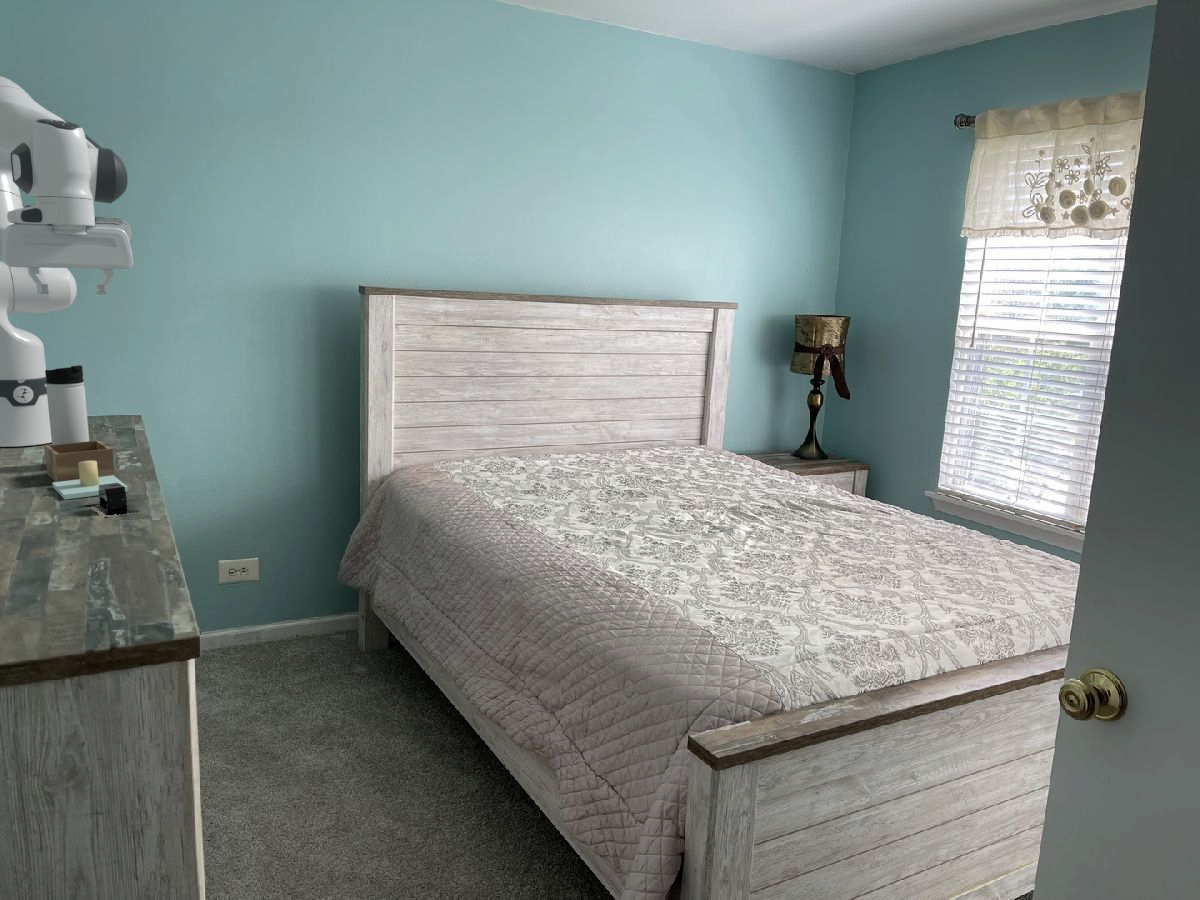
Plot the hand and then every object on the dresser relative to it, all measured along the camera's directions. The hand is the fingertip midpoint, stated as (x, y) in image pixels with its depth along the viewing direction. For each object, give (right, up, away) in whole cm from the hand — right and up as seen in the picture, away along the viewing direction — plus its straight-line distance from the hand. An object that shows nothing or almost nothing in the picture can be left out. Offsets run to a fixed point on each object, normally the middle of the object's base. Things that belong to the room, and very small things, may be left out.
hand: (73, 294), depth 162 cm
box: (0, -34, +3) cm, 34 cm away
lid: (+7, -35, -6) cm, 36 cm away
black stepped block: (+16, -39, -16) cm, 45 cm away
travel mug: (-7, -32, +12) cm, 35 cm away
